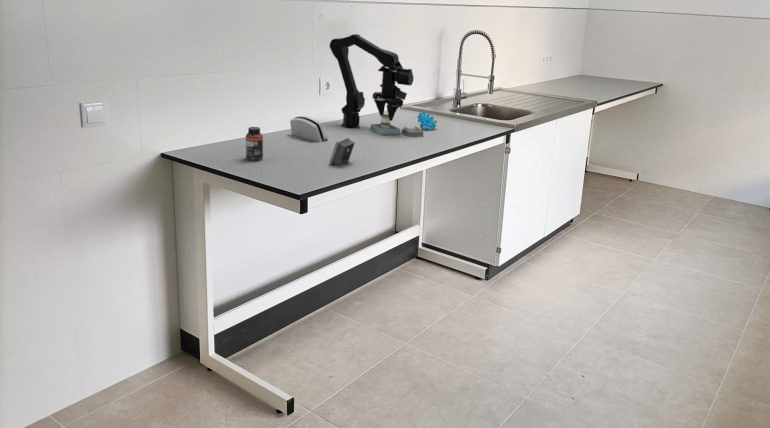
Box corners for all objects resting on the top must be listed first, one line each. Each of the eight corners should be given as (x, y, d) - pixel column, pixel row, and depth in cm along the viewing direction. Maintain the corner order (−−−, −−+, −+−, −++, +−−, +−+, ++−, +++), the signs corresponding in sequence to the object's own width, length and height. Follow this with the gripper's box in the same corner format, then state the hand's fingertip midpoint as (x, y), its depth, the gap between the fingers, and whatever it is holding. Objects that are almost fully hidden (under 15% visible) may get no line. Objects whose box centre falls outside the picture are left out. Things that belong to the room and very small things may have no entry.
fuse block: (408, 137, 286) (409, 129, 285) (401, 133, 292) (402, 125, 291) (423, 136, 289) (423, 128, 288) (415, 132, 295) (416, 125, 294)
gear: (422, 128, 297) (416, 109, 301) (415, 135, 302) (409, 116, 305) (441, 130, 303) (435, 112, 307) (434, 137, 308) (428, 119, 312)
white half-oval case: (328, 140, 269) (324, 118, 264) (321, 145, 267) (315, 123, 261) (300, 132, 279) (295, 111, 273) (292, 137, 276) (287, 116, 271)
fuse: (382, 132, 289) (383, 116, 287) (378, 130, 293) (379, 114, 290) (391, 131, 291) (392, 116, 289) (387, 129, 294) (388, 114, 292)
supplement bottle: (255, 156, 239) (255, 125, 235) (266, 159, 235) (266, 128, 231) (242, 158, 234) (242, 127, 231) (253, 162, 231) (253, 130, 227)
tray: (381, 135, 285) (381, 129, 285) (370, 129, 295) (370, 124, 294) (399, 134, 289) (400, 128, 289) (388, 129, 299) (388, 123, 298)
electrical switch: (340, 159, 243) (343, 135, 240) (352, 162, 241) (356, 138, 238) (328, 164, 235) (331, 139, 231) (341, 168, 233) (345, 143, 230)
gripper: (415, 86, 280) (412, 122, 286) (395, 79, 296) (393, 113, 301) (392, 86, 276) (389, 123, 281) (373, 79, 291) (370, 114, 296)
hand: (386, 118), depth 290 cm, fingers open, 9 cm apart
